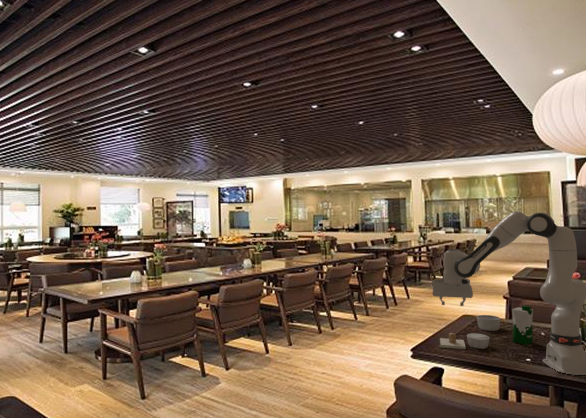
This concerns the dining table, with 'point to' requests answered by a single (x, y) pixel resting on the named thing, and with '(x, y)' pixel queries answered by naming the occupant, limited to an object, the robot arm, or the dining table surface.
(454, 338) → the cover
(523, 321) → the milk carton
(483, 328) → the ramekin
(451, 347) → the mat
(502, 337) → the dining table surface
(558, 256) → the robot arm
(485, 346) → the ramekin
